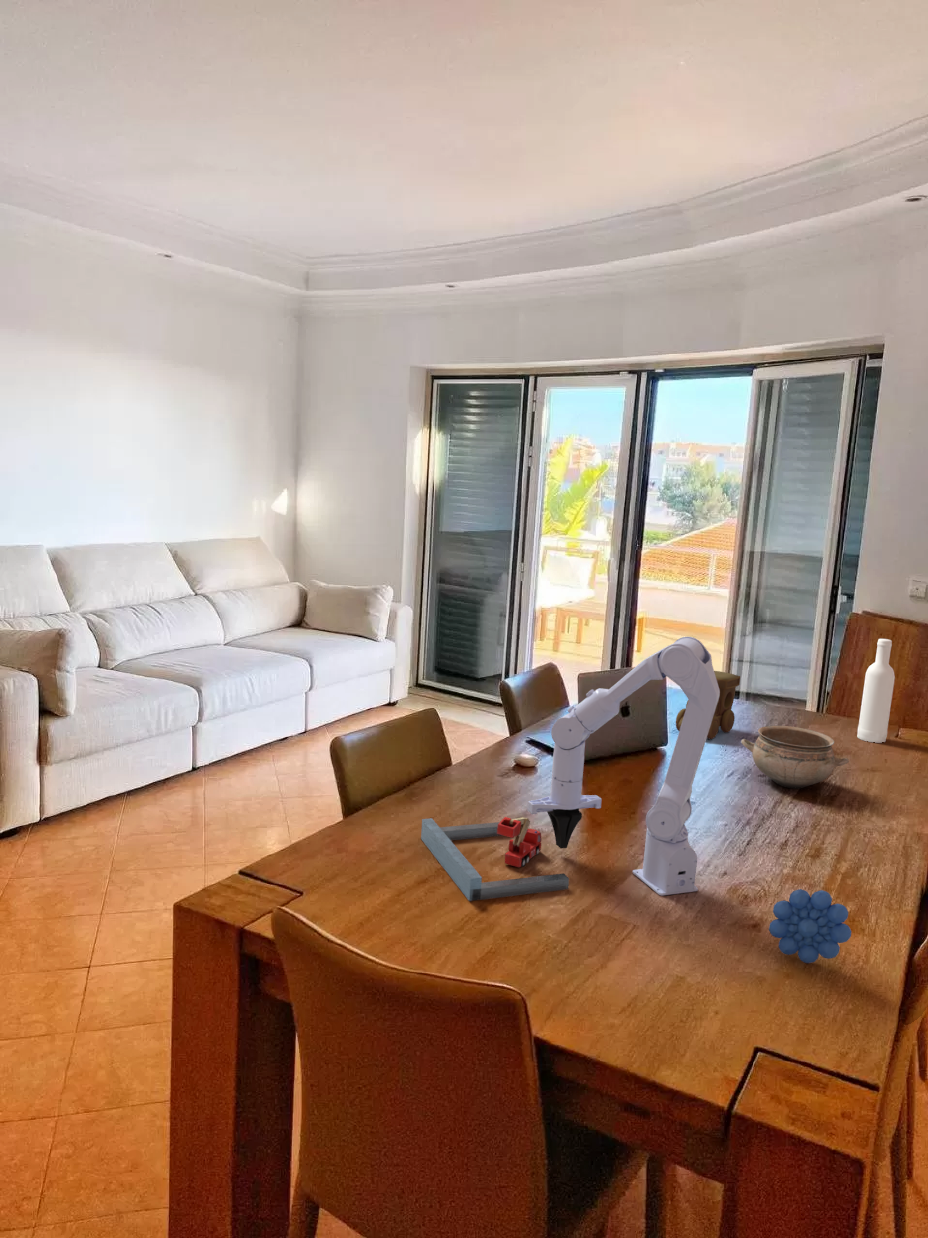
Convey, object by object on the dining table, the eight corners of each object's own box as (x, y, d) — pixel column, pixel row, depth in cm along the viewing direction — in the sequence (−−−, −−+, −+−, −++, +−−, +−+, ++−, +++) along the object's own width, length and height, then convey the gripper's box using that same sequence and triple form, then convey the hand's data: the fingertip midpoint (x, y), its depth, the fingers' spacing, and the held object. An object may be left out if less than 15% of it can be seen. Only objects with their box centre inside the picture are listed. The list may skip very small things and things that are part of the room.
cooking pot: (848, 784, 222) (854, 736, 220) (840, 806, 205) (847, 755, 204) (745, 763, 233) (750, 718, 231) (729, 783, 217) (735, 734, 215)
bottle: (887, 739, 266) (901, 640, 261) (884, 745, 259) (898, 643, 254) (858, 733, 270) (872, 636, 265) (854, 739, 263) (868, 639, 258)
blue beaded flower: (851, 963, 137) (861, 890, 135) (842, 983, 131) (852, 906, 129) (773, 938, 143) (782, 867, 141) (761, 955, 138) (771, 882, 136)
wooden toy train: (702, 721, 272) (707, 668, 270) (737, 730, 265) (744, 675, 262) (670, 733, 257) (676, 677, 255) (707, 743, 250) (714, 685, 247)
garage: (568, 889, 156) (570, 867, 155) (469, 901, 149) (470, 878, 148) (508, 830, 180) (510, 811, 179) (421, 838, 173) (422, 819, 172)
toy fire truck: (542, 851, 171) (546, 803, 169) (510, 877, 159) (514, 826, 157) (526, 847, 172) (530, 799, 171) (493, 872, 161) (497, 821, 159)
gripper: (590, 767, 173) (585, 834, 175) (522, 772, 168) (517, 841, 170) (609, 780, 167) (603, 849, 169) (539, 785, 161) (533, 856, 164)
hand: (561, 846), depth 169 cm, fingers closed
